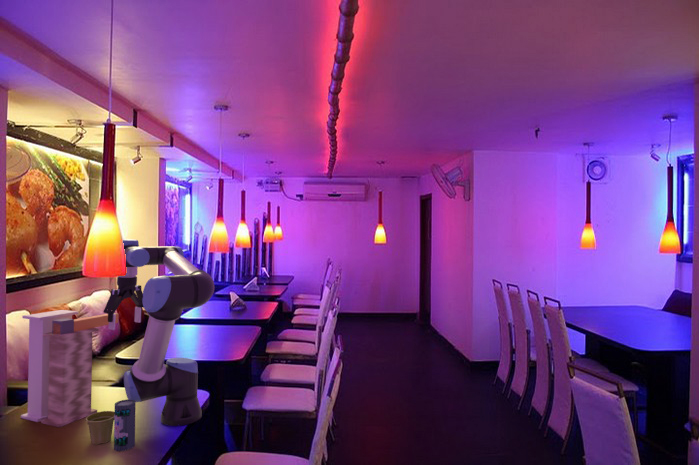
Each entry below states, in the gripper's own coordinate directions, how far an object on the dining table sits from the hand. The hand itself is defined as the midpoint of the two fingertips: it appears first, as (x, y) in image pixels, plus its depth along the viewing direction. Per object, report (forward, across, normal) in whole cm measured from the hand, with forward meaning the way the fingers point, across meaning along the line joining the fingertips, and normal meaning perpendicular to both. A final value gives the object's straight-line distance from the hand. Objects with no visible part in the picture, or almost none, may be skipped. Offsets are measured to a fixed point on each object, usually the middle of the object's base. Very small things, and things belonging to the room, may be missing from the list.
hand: (125, 325), depth 190 cm
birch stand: (+34, +18, -7) cm, 39 cm away
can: (+30, +30, +32) cm, 53 cm away
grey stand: (+35, +18, -19) cm, 43 cm away
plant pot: (+31, +29, +21) cm, 48 cm away
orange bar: (0, +10, -10) cm, 14 cm away
